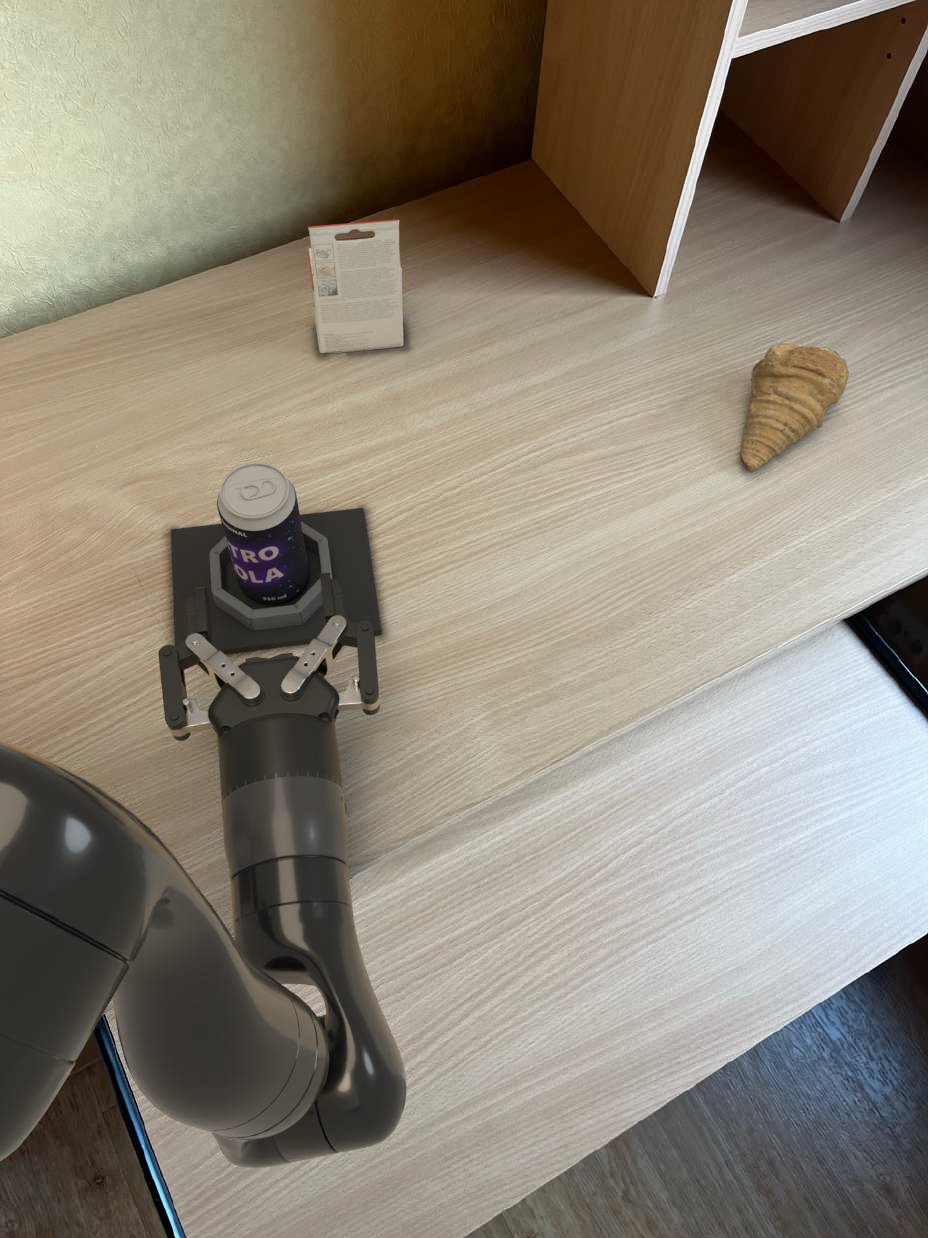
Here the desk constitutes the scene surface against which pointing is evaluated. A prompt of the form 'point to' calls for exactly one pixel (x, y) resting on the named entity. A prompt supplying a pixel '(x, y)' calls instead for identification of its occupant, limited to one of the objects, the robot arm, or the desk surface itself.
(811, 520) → the desk surface
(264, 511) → the beverage can
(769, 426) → the seashell
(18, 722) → the desk surface
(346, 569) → the socket pad
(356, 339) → the ink box
